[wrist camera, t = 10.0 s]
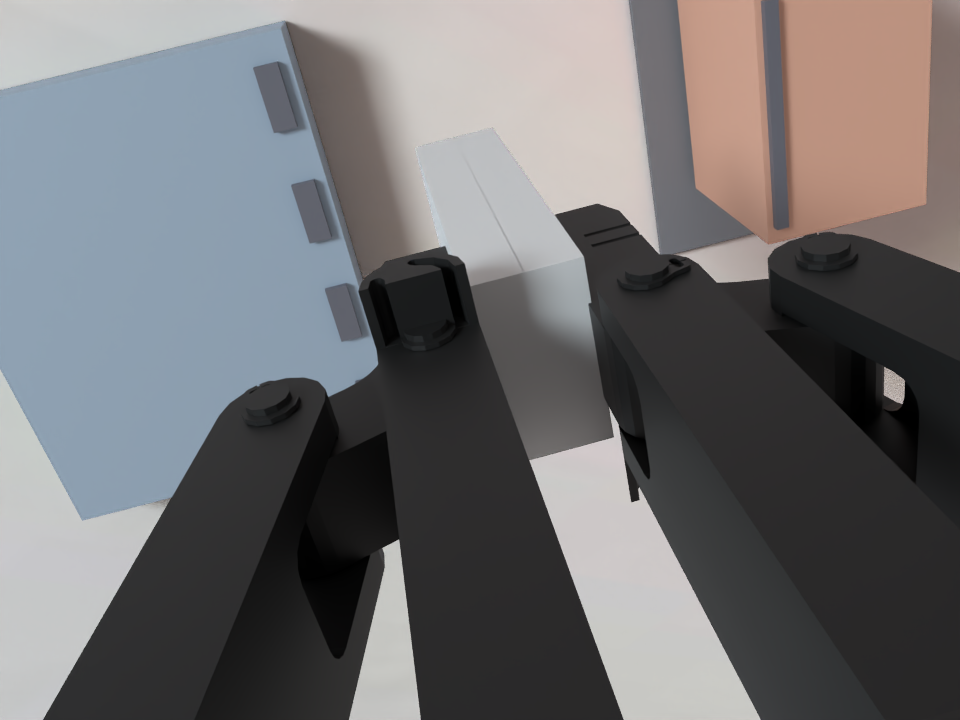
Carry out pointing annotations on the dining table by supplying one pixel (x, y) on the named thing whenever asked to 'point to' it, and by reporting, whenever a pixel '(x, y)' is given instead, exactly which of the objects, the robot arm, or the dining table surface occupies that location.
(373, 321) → the robot arm
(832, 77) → the stub
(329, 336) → the board
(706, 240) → the mat
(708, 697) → the dining table surface
